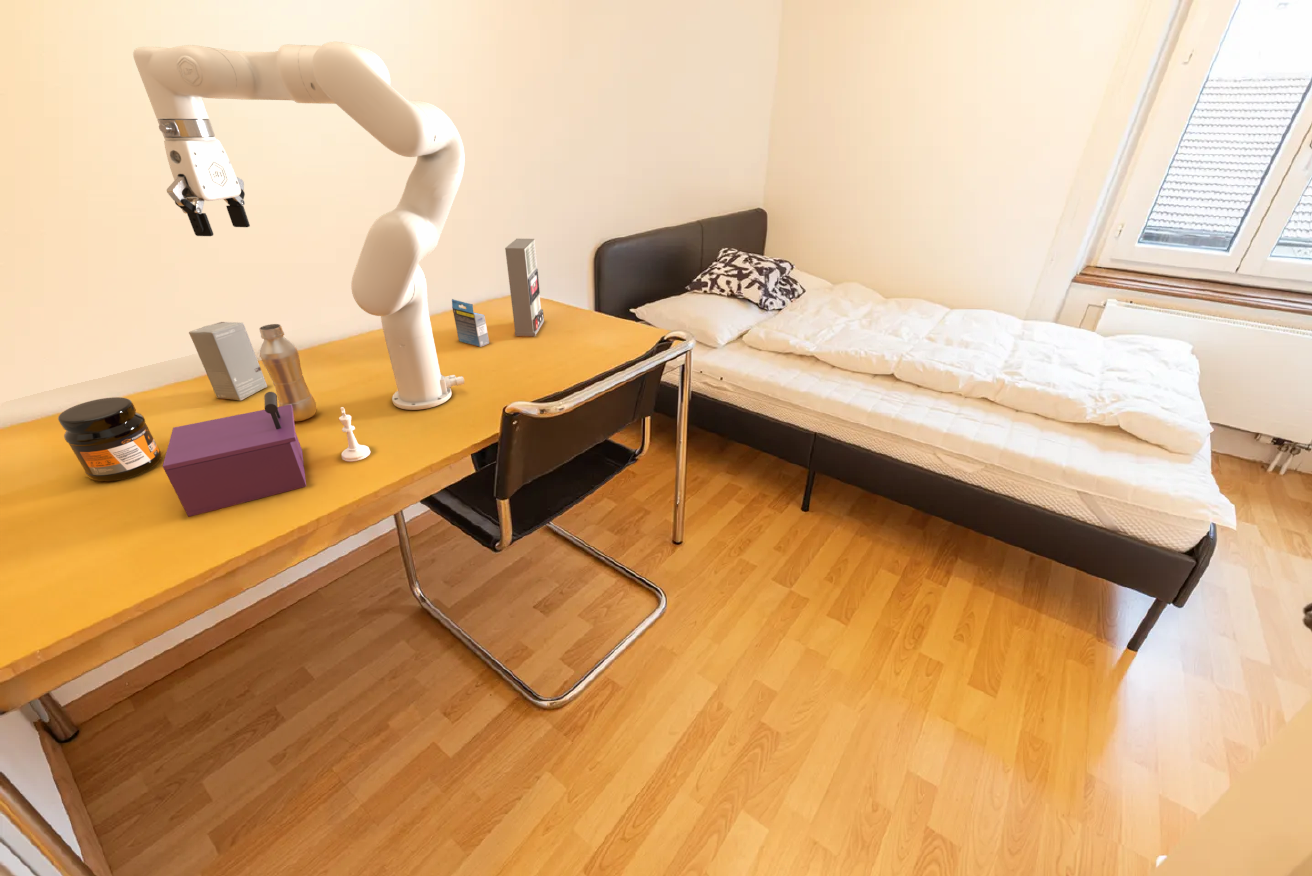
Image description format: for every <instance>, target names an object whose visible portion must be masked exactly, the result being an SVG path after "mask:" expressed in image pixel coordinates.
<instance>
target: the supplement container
mask: <svg viewBox="0 0 1312 876" xmlns="http://www.w3.org/2000/svg"><path fill="white" fill-rule="evenodd" d="M57 420H58V422H59V425H61V427H62V429H63V430H65V431H64V434H63V437H64V440H65V442H66V443H67V444H68V445H69V446H70V448H71V450H72V451H73V453H74V455H75V457H76V458H77V460H78V462H79V463H80V465H81V466H82V468H83V470H84V473H85V474H86V476H87V477H88V478H90V479H91V480H94V481H97V482H115V481H121V480H126V479H130V478H132V477H133V478H134V477H136V476H139V475H141V474H143V473H146V472H148V471H150V470H151V469H152V468H154V467H155V466H156V465H157V464H158V463H159V462H161V459H162V451H161V449H160V448H159V447H158V445H157V442H156V441H155V438H154V437H153V436H154V435H152V432H151V431H150V429H149V427H148V424H147V422H146V418H145V417H144V415H142V414H141V413H139V412H137V409H136V407H135V405H134V403H133V401H132V400H131V399H130V398H127V397H121V396H119V397H117V396H115V397H105V398H103V397H102V398H98V399H93V400H89V401H85V402H82V403H79V404H76V405H74V406H72V407H69V408H67V409H66V410H64V411H62V412H61V413H60V414H59V415H58V416H57Z"/></svg>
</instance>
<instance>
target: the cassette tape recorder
mask: <svg viewBox="0 0 1312 876" xmlns="http://www.w3.org/2000/svg"><path fill="white" fill-rule="evenodd" d="M504 250H505V257H506V266H507V275H508V282H509V283H508V284H509V292H510V300H511V309H512V317H513V318H512V319H513V324H514V336H515V337H532V338H534V337H537V334H538V332H539V331H540V329H541V327H542V326H543V324H544V323H545V315H544V309H543V308H542V305H541V296H540V295H541V290H540V280H539V269H538V261H537V251H536V239H535V238H515V239H514V240H513V241H512V242H511V243H509V244H508V245H507V246H506V247H505V248H504Z"/></svg>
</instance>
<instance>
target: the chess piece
mask: <svg viewBox="0 0 1312 876" xmlns="http://www.w3.org/2000/svg"><path fill="white" fill-rule="evenodd" d="M340 411H341V415H340V416H339V418H338V420H339V422H340V423H341V424H342V426H343V427H342V429H341V432H343V433H346V437H347V445H348V446H347V448H345V449H344V450H343V451H342V452H341V459H342V460H343V461H344V462H357V461H361V460H363V459H366V458H367V457H368V456H370V454H371V449H370V447H369V446H368V445H365V444H359V443H358V440H357V438H356V436H355V434H354V433H353V431H354V430H356V427H355V426H354V425H352V416H351V415H350V414H346V409H345V408H344V406H341V407H340Z"/></svg>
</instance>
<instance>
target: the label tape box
mask: <svg viewBox="0 0 1312 876" xmlns="http://www.w3.org/2000/svg"><path fill="white" fill-rule="evenodd" d="M460 306H463V307H465V308H463V307H460ZM451 308H452V313H453V318H454V324H455V327H456V333H457V337H458V341H459V342H460V343H463V344H468V345H472V346H475V347H479V348H481V347H484V346H487V345H488V344H490V338H489V332H488V328H487V322H486V317H485V314H482V313H478V312H474V304H473V303H469V302H465V301H461V300H459V299H458V300H457V299H455V298H454V299H453V298H451Z"/></svg>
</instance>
